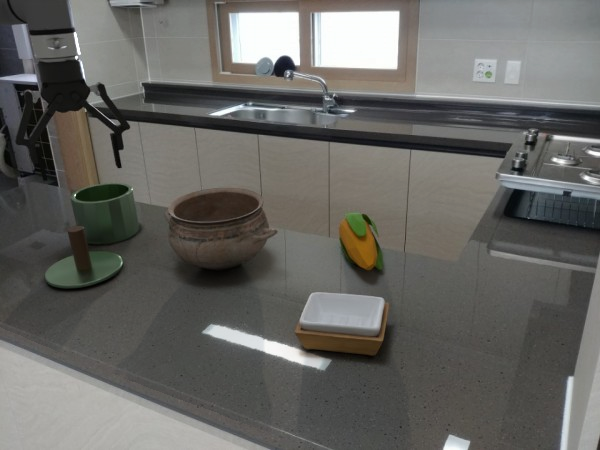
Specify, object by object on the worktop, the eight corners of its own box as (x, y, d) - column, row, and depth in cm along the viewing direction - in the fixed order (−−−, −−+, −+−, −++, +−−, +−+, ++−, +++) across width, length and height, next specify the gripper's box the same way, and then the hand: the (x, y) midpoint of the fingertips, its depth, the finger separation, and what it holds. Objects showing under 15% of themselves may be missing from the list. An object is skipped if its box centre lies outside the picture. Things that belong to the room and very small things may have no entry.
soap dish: (388, 323, 83) (389, 295, 81) (382, 363, 74) (383, 332, 72) (309, 315, 85) (308, 288, 83) (295, 353, 77) (293, 323, 75)
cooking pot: (302, 253, 106) (300, 195, 101) (250, 299, 91) (244, 234, 86) (201, 233, 117) (194, 180, 112) (139, 271, 102) (129, 211, 97)
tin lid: (29, 282, 100) (17, 237, 96) (88, 251, 111) (78, 210, 107) (82, 297, 94) (71, 250, 90) (138, 263, 105) (130, 220, 101)
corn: (369, 201, 109) (392, 242, 91) (371, 234, 112) (394, 281, 94) (333, 205, 109) (349, 248, 91) (336, 239, 112) (352, 287, 94)
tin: (67, 238, 117) (57, 198, 113) (110, 218, 127) (102, 180, 123) (109, 248, 112) (100, 206, 108) (151, 226, 122) (144, 186, 118)
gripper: (-22, 68, 88) (12, 190, 96) (133, 54, 98) (151, 166, 106) (-20, 63, 94) (11, 179, 102) (126, 51, 104) (143, 157, 112)
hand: (83, 172), depth 104 cm, fingers open, 13 cm apart
